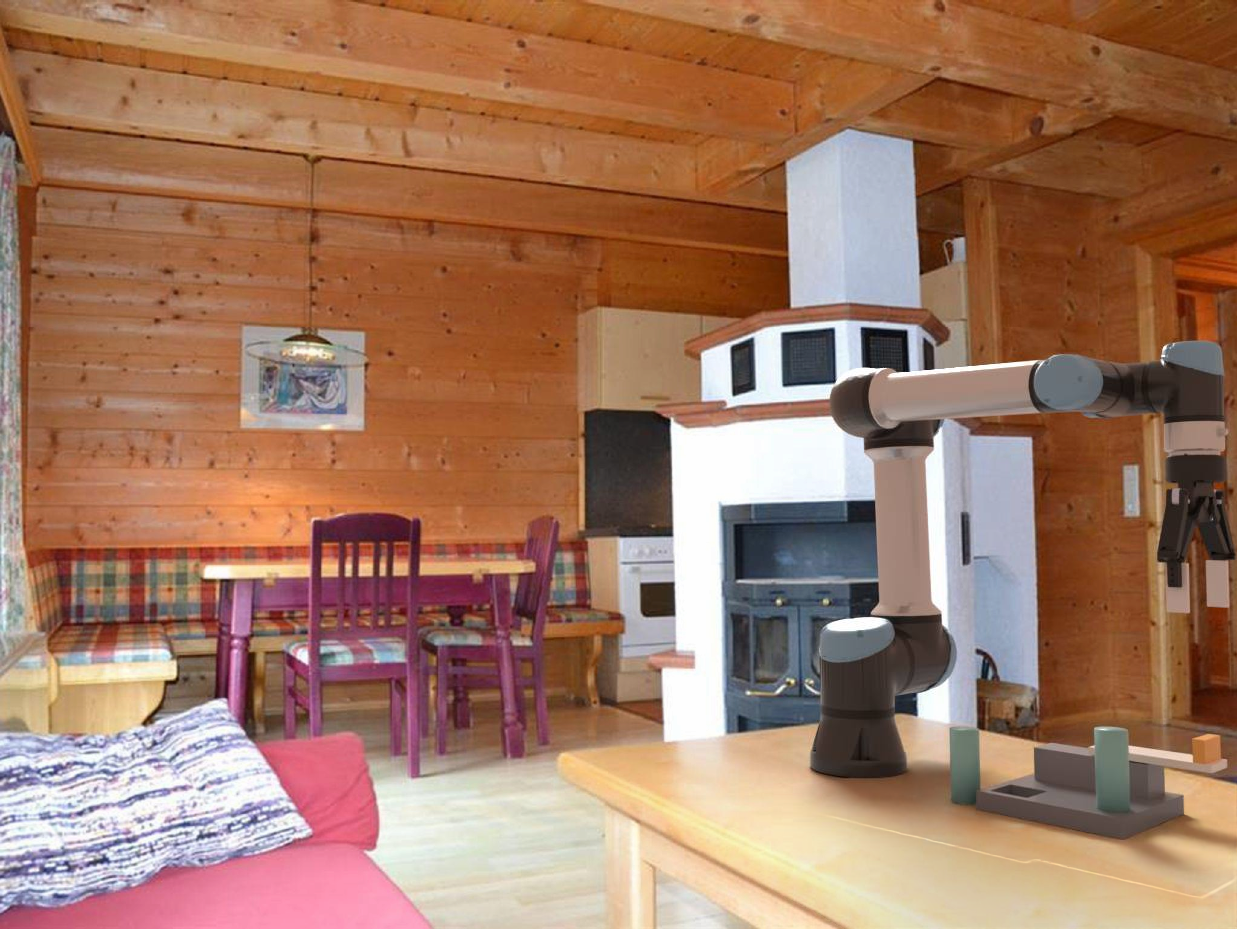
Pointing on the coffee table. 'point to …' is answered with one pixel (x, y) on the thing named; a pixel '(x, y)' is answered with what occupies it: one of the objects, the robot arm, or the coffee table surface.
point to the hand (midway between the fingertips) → (1198, 609)
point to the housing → (1088, 789)
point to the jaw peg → (964, 764)
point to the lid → (1182, 755)
